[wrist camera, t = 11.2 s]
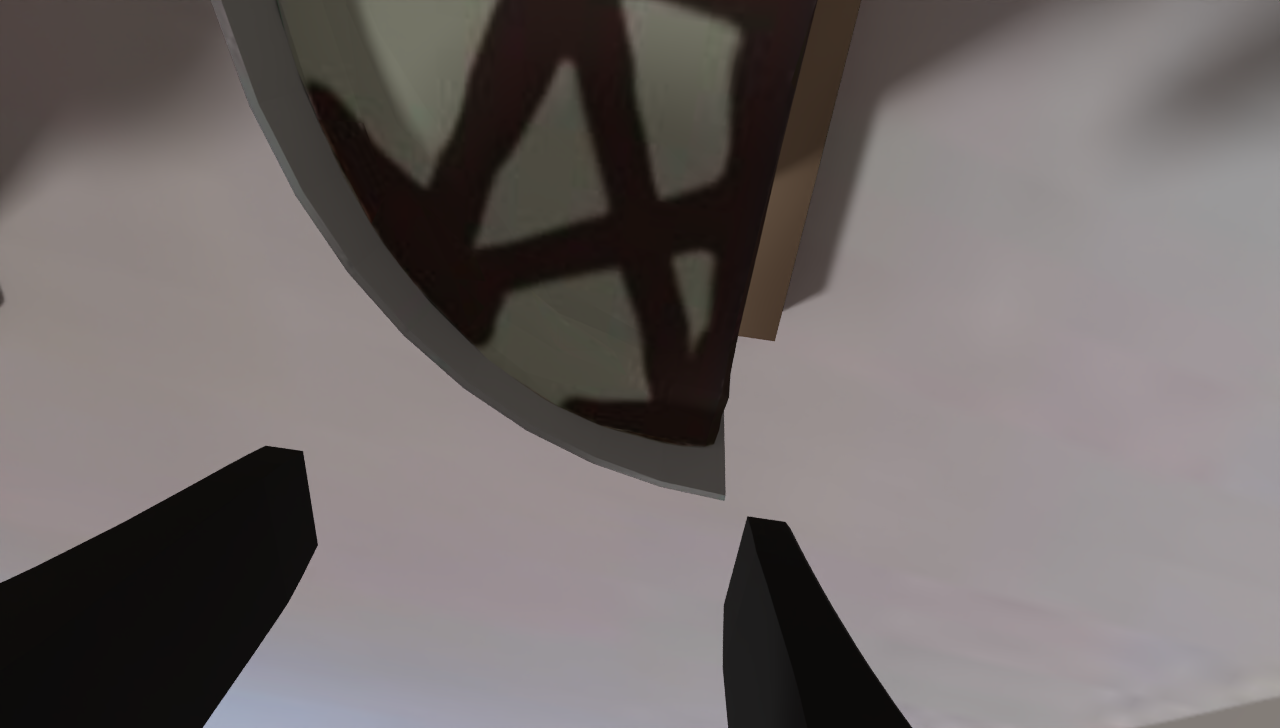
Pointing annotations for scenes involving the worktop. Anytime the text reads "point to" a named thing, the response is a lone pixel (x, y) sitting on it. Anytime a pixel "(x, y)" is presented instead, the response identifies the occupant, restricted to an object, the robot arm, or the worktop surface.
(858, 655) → the robot arm
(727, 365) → the food container
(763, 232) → the walnut base
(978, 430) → the worktop surface
